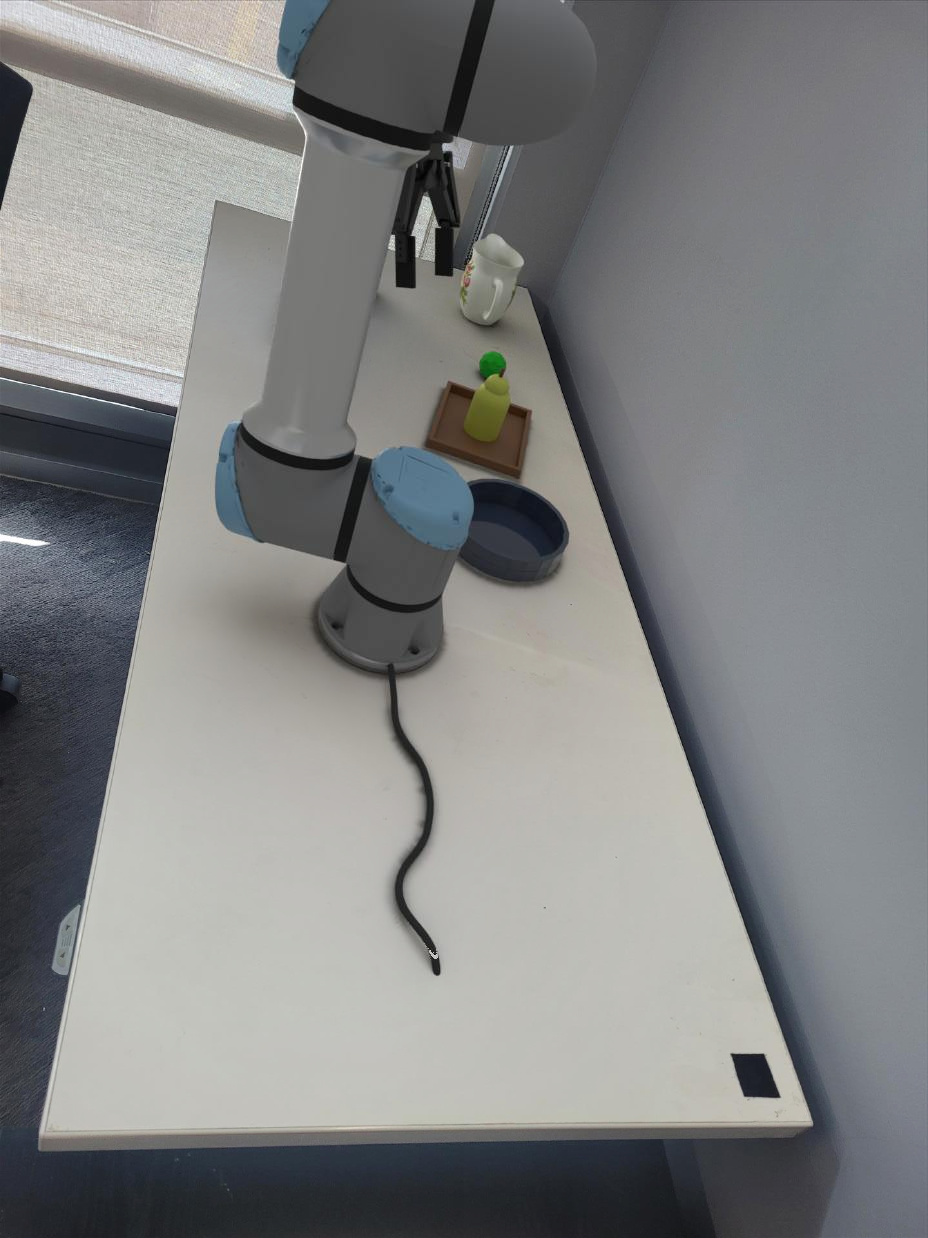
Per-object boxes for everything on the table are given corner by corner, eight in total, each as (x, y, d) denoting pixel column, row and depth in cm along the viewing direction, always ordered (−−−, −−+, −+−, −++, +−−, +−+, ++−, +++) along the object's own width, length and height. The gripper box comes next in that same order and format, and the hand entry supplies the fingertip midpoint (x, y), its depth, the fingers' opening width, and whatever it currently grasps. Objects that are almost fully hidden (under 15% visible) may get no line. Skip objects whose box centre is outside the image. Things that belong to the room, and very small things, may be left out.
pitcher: (457, 334, 160) (478, 266, 150) (449, 291, 172) (468, 226, 162) (510, 347, 163) (534, 281, 153) (498, 304, 175) (520, 240, 166)
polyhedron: (506, 381, 153) (515, 358, 149) (489, 386, 149) (497, 363, 146) (487, 367, 154) (495, 344, 151) (470, 371, 151) (478, 348, 148)
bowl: (553, 599, 114) (565, 577, 111) (433, 559, 112) (442, 535, 109) (561, 524, 127) (572, 502, 124) (453, 487, 125) (461, 464, 122)
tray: (517, 481, 131) (521, 471, 130) (424, 449, 130) (428, 438, 128) (528, 420, 145) (532, 410, 144) (444, 390, 144) (448, 380, 142)
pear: (495, 446, 135) (519, 383, 127) (460, 433, 135) (483, 370, 127) (499, 427, 140) (523, 365, 131) (466, 415, 139) (488, 353, 131)
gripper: (436, 111, 119) (435, 269, 130) (355, 103, 99) (362, 290, 109) (485, 112, 117) (480, 273, 127) (411, 103, 97) (413, 295, 107)
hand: (425, 281), depth 118 cm, fingers open, 13 cm apart
